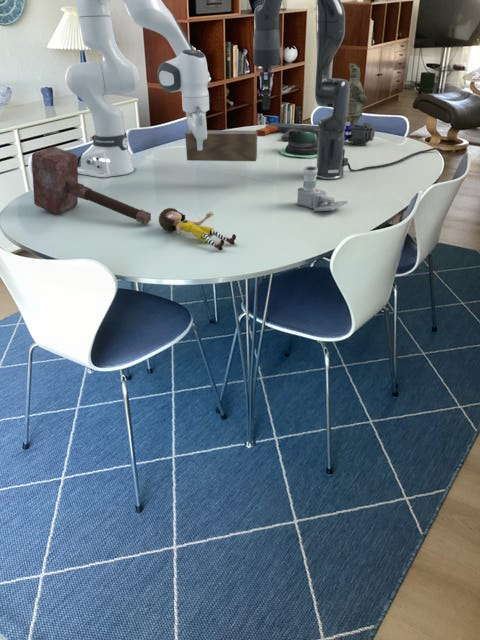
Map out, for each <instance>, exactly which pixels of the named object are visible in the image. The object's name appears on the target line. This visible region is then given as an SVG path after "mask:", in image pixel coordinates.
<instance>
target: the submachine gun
mask: <svg viewBox="0 0 480 640" xmlns="http://www.w3.org/2000/svg"><path fill="white" fill-rule="evenodd" d="M318 126H319V125H311V124H300V123H299V124H297V123H285V122H268V124H266V125H265V126H264V127H262V128H259V129H256V130H254V131H257V136H266V135H268V134H272V133H276V132H277V133H279V132H280V133H284V134H282V135H281V137H280V140H281V141H288V140H289V131H291V130H294V129H298V128H311V129H316V130H318V128H319V127H318Z"/></svg>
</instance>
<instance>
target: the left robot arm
mask: <svg viewBox="0 0 480 640" xmlns="http://www.w3.org/2000/svg"><path fill="white" fill-rule="evenodd" d="M110 1H111V0H76V6H77V7H76V9H77V18H78V24H79V31H80V38H81V42H82V43H83V45H84V46H85V47H87V48H88V49H89V50H92V51H93V52H96V53H98V54H99V55H101V56H102V60H101V61H85V62H84V61H82V62H78V63H74V64H71V65H69V66H68V67H67V68H66V69H67V70H66V72H65V83H66V85H67V87H68V89H69V90H70V92H71V93H72V94H74V96H77V97H78V98H79V99H81V100H82V101H83V103H85V105H86V106H87V108H88V109H89V111H90V112H89V113H90V114H91V118H92V122H93V127H94V133H95V134H93V135H92V136H90V137H89V141H92V145H91V146H90V147H88V148H87V149H86V150H85V151H84V152H83V153H81V154H80V156H77V158H78V175H85V176H90V177H97V178H111V177H116V176H124V175H128V174H130V173H133V172H134V171H135V168H134V165H133V164H132V160H131V156H130V152H129V142H128V135H127V132H126V126H125V119H124V118H125V117H124V112H123V111H122V110H121V108H120V107H118V106H116V105H114V104H112V103H109V102H107V101H106V100H105V99H104V96H106V95H107V96H108V95H122V94H127V93H131V92H134V91H136V90H137V88H138V87H139V84H140V73H139V70H138V68H137V66H136V65H135V64H134V63H133V62H132V61H131V60H129V59H127V57H125V56H124V54H123V53H122V52H121V50H120V48H119V46H118V45H117V41H116V37H115V33H114V27H113V21H112V12H111V7H110ZM122 1H123V4H124V6H125V8H126V11H127V13H128V15H129V16H130V18H131V19H132V21H133V22H134V23H135V24H136V25H138V26H139V27H141V28H143V29H147V30H150V31H152V32H156V33H157V34H160V35H161V36H162V37H164V38H165V40H167V42H168V43H169V45H170V47H171V49H172V51H173V52H174V55H175V56H176V57H174V58H172V59H169V60H167V61H163V62H162V63H160V64H159V66H158V68H157V72H156V73H157V74H156V76H157V82H158V84H159V86H160V88H161V89H162V90H163V91H165V92H167V93H177V92H181V104H182V111H183V112H185V117H186V123H187V127H188V130H191V131H192V133H193V135H194V136H195V138H196V140H197V150H198V151H199V150H202V149H203V146H202V145H203V140H205V139H207V130H208V127H207V125H208V124H207V117H206V115H207V112H208V111H210V94H209V93H210V92H209V89H208V84H209V69H208V62H207V58H206V55H205V53H204V52H202V51H200V50H197V49H194V47H193V45H192V44H191V43H190V41H189V39H188V37H187V35H186V33H185V32H184V30H183V27H182V26H181V24H180V23H179V21H178V19H177V18H176V16H175V15H174V14H173V13H172V12H171V11H170V9H168V8H167V6H166V5H165V3H164V2H163V0H122ZM79 165H80V166H79Z"/></svg>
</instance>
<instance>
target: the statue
mask: <svg viewBox="0 0 480 640" xmlns="http://www.w3.org/2000/svg"><path fill="white" fill-rule="evenodd" d="M348 70H349V73H350V75H349V76H350V78H349V81H348V83H349V88H350V93H349V102H348V110H347V118H346V122H350V124H352V127H354V125H355V124H357V125H359V124H358V123H359V121H360V118H361V117H362V116H363V108H364V104H365V103H367V102H368V96H367V95H366V94H365V91H364V86H363V84H362V82H361V68H360V67H359V66H358V65H357V64H356V63H351V62H350V63H348ZM346 122H345V123H346Z"/></svg>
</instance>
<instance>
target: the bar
mask: <svg viewBox="0 0 480 640" xmlns="http://www.w3.org/2000/svg"><path fill="white" fill-rule="evenodd" d="M184 135H185V150H186V161H192V162H193V161H194V162H195V161H197V162H198V161H201V162H202V161H203V162H204V161H206V162H257V160H258V135H257V131H255V130H227V129H226V130H221V129H220V130H214V129H213V130H212V129H210V130H209V129H207V139H205V140H203V145H202V146H203V149H202V150H199V151H198V150H197V140H196V138H195V136H194V135H193V133H192V131H191V130H190V129H188V130H187V131H186V132H185V133H184Z"/></svg>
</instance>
